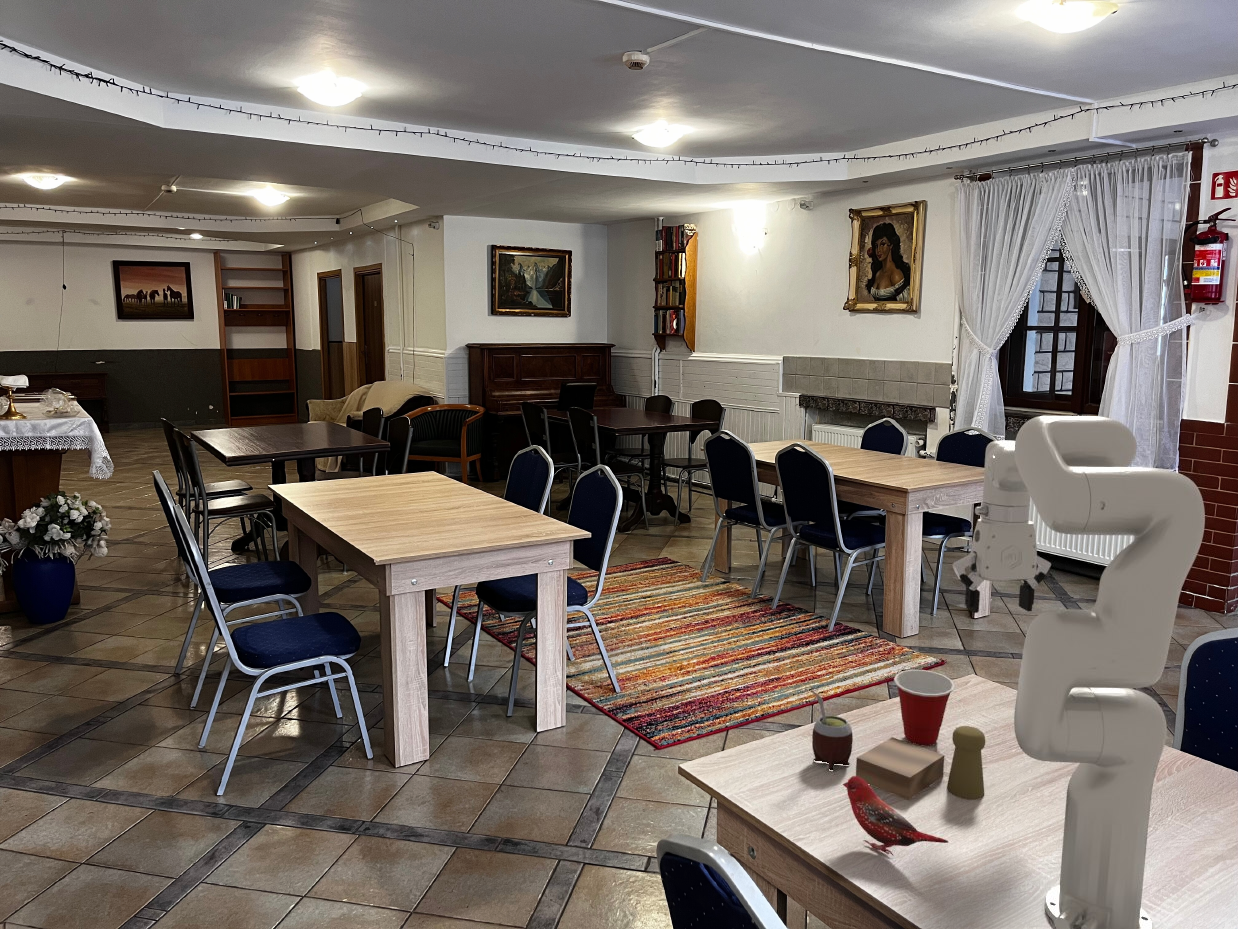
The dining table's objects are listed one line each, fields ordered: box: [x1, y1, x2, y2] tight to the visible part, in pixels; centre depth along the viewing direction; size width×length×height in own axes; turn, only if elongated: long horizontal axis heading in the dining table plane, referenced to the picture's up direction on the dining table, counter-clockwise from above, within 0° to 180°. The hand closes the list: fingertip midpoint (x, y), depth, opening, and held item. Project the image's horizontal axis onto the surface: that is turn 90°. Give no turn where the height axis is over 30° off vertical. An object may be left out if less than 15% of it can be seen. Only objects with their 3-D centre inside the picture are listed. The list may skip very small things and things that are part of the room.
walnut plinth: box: [855, 736, 945, 801], centre depth 160 cm, size 12×10×4 cm
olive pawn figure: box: [946, 725, 986, 801], centre depth 155 cm, size 6×6×11 cm
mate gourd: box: [810, 690, 854, 771], centre depth 164 cm, size 8×8×15 cm
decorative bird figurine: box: [842, 775, 949, 856], centre depth 135 cm, size 3×18×10 cm, turn 41°
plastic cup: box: [893, 669, 955, 747], centre depth 175 cm, size 11×11×12 cm
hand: (998, 609), depth 160 cm, fingers open, 9 cm apart
